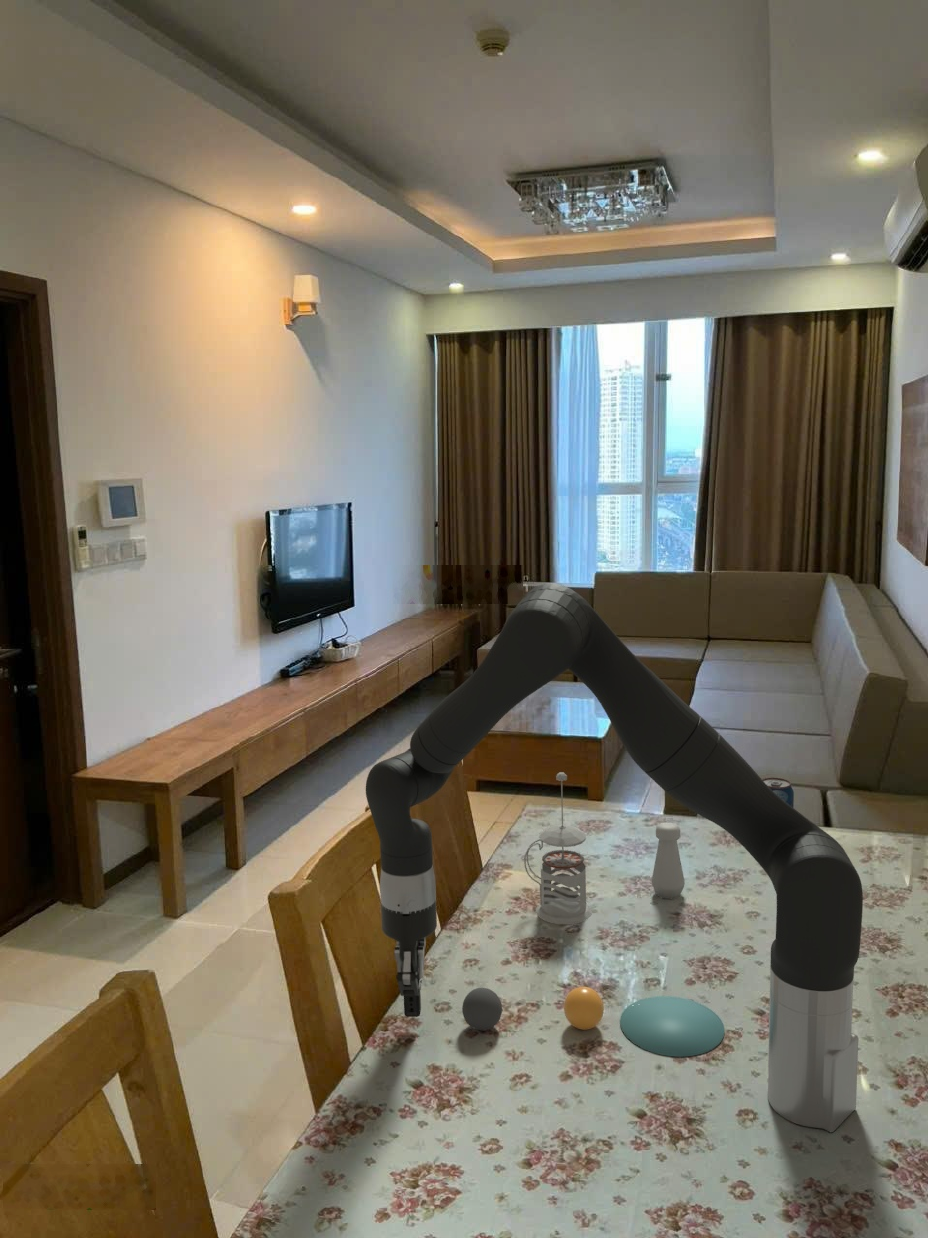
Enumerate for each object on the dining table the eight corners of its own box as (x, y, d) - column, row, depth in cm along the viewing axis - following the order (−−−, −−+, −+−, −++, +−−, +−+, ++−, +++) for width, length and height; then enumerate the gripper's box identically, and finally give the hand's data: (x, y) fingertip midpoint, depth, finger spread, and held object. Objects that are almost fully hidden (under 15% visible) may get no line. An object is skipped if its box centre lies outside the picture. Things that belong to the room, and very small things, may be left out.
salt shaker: (661, 884, 176) (661, 816, 174) (690, 892, 173) (690, 823, 170) (645, 896, 172) (645, 826, 170) (675, 904, 168) (675, 833, 166)
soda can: (787, 848, 190) (788, 790, 188) (752, 841, 194) (753, 784, 192) (796, 836, 196) (798, 779, 194) (762, 830, 199) (763, 774, 197)
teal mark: (744, 1025, 132) (744, 1023, 132) (685, 1070, 123) (685, 1069, 123) (659, 986, 142) (659, 985, 142) (599, 1026, 133) (599, 1025, 133)
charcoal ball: (510, 1027, 134) (509, 990, 133) (482, 1044, 130) (481, 1006, 129) (483, 1011, 138) (482, 975, 137) (454, 1027, 134) (453, 991, 133)
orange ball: (612, 1026, 133) (611, 989, 132) (586, 1043, 129) (585, 1005, 128) (581, 1010, 137) (581, 974, 136) (555, 1026, 133) (555, 990, 132)
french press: (586, 927, 161) (584, 784, 157) (518, 919, 165) (515, 779, 161) (597, 901, 170) (595, 765, 166) (533, 894, 174) (530, 761, 170)
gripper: (386, 876, 138) (391, 988, 140) (374, 920, 125) (380, 1042, 127) (438, 875, 137) (442, 988, 140) (432, 919, 124) (436, 1042, 127)
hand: (412, 1014), depth 134 cm, fingers closed
